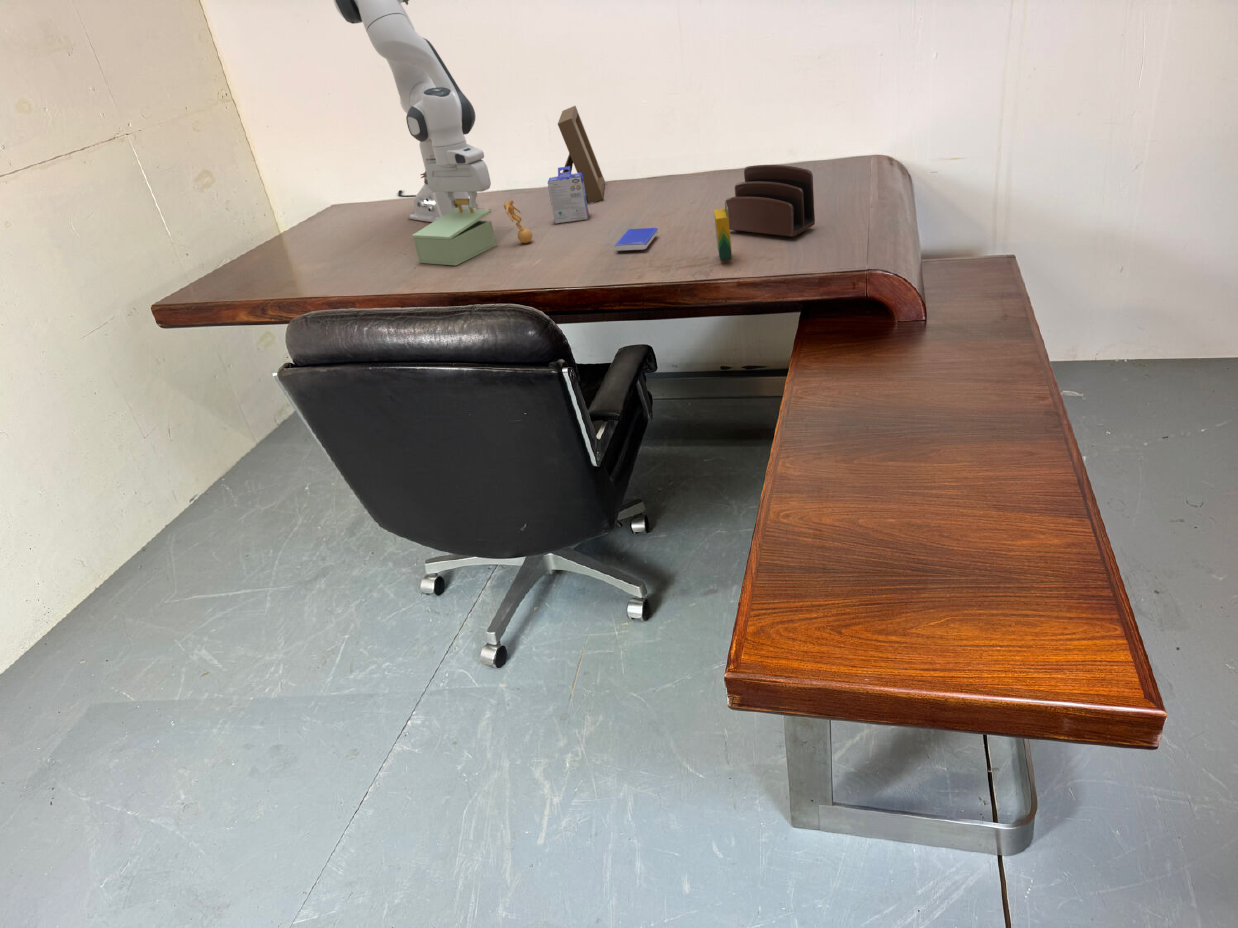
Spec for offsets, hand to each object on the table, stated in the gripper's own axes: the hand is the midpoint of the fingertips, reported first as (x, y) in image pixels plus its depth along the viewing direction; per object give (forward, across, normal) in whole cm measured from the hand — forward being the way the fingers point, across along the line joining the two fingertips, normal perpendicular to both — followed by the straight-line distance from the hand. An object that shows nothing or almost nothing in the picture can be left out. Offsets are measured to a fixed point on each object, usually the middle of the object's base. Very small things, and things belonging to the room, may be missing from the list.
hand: (464, 207), depth 228 cm
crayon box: (+12, +76, +4) cm, 77 cm away
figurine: (+11, +14, +5) cm, 18 cm away
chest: (+11, 0, -6) cm, 12 cm away
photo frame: (+10, +2, +50) cm, 51 cm away
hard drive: (+11, +48, +10) cm, 50 cm away
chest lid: (+3, 0, -6) cm, 6 cm away
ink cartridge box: (+11, +15, +27) cm, 33 cm away
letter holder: (+11, +78, +25) cm, 83 cm away
